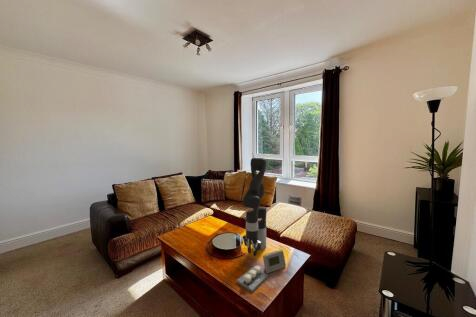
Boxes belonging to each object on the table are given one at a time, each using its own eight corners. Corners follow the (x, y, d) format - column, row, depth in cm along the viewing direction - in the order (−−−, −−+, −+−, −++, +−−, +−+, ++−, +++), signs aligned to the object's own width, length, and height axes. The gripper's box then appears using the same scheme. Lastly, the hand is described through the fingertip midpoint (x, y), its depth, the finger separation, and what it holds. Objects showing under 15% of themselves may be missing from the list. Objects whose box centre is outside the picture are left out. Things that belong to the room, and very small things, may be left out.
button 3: (252, 273, 127) (252, 268, 126) (256, 269, 130) (256, 264, 130) (258, 276, 124) (258, 271, 123) (262, 272, 127) (262, 267, 127)
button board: (237, 282, 122) (236, 279, 121) (252, 268, 133) (252, 266, 133) (252, 292, 114) (252, 289, 113) (267, 276, 126) (267, 274, 125)
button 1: (242, 282, 119) (242, 277, 119) (247, 277, 123) (246, 272, 122) (248, 285, 116) (248, 280, 116) (252, 281, 120) (252, 276, 119)
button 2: (247, 277, 123) (247, 272, 123) (251, 273, 127) (251, 268, 126) (253, 281, 120) (253, 276, 120) (257, 276, 124) (257, 271, 123)
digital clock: (265, 274, 128) (265, 259, 126) (260, 265, 137) (260, 251, 135) (288, 270, 131) (288, 255, 130) (282, 261, 140) (282, 247, 139)
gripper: (239, 226, 121) (239, 252, 123) (257, 234, 112) (258, 262, 114) (246, 222, 127) (247, 247, 129) (265, 229, 117) (265, 255, 120)
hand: (252, 254), depth 121 cm, fingers open, 3 cm apart
